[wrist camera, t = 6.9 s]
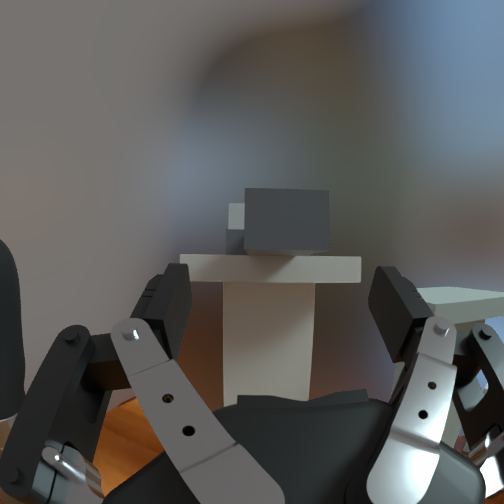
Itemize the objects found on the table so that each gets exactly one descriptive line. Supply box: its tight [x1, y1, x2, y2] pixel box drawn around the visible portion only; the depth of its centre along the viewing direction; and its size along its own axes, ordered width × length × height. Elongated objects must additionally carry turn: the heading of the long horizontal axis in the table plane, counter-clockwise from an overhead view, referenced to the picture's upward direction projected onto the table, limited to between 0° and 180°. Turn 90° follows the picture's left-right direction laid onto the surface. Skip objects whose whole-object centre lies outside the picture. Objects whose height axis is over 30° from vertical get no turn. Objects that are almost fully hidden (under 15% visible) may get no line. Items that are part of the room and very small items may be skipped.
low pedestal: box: [391, 287, 504, 448], centre depth 28 cm, size 15×15×28 cm
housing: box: [226, 188, 330, 256], centre depth 23 cm, size 23×8×5 cm, turn 179°
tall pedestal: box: [180, 254, 361, 407], centre depth 29 cm, size 15×15×32 cm
